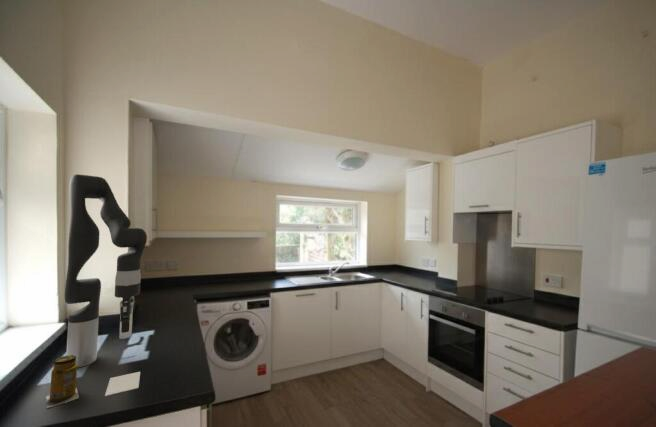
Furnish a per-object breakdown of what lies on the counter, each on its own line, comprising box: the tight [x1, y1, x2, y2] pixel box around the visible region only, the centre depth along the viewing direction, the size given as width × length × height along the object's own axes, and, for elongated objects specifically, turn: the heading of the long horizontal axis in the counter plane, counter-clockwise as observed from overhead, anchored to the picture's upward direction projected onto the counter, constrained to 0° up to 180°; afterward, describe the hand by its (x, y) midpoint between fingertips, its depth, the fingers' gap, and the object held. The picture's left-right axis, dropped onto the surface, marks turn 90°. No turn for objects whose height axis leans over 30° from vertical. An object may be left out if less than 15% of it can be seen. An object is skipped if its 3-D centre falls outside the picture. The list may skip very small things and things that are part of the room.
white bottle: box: [118, 305, 134, 340], centre depth 100 cm, size 4×4×12 cm
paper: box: [104, 371, 141, 397], centre depth 96 cm, size 12×9×1 cm
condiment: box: [45, 355, 80, 409], centre depth 88 cm, size 7×8×12 cm
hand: (125, 329), depth 100 cm, fingers closed on white bottle, 3 cm apart
